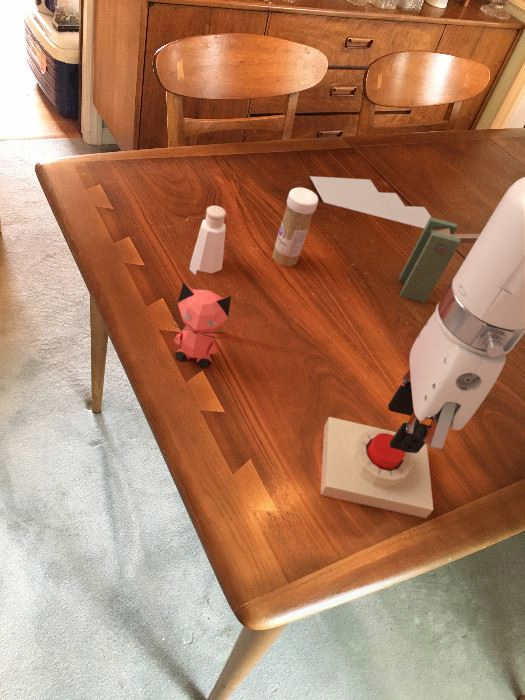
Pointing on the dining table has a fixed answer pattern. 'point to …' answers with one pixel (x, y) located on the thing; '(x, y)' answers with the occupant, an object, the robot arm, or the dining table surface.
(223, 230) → the pepper shaker
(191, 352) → the cat figurine
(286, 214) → the sprinkles bottle
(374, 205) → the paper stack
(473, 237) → the lever
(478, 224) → the dining table surface
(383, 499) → the control block
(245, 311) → the dining table surface
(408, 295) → the bracket
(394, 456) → the button
